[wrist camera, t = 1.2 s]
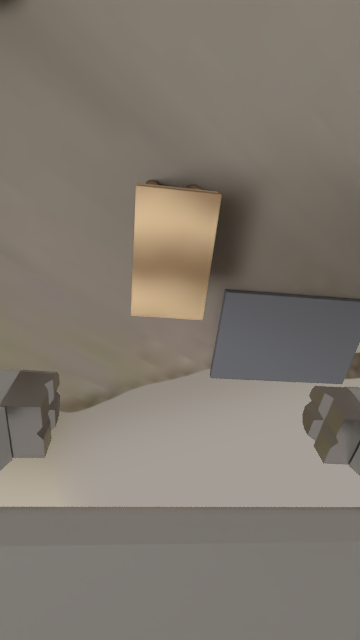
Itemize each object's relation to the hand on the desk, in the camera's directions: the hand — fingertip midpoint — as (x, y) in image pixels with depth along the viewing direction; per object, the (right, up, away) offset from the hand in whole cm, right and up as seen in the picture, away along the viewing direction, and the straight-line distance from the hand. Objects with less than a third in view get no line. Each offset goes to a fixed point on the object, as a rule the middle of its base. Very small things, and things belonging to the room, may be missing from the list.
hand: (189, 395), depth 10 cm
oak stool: (-1, +12, +23) cm, 26 cm away
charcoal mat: (+13, 0, +30) cm, 33 cm away
